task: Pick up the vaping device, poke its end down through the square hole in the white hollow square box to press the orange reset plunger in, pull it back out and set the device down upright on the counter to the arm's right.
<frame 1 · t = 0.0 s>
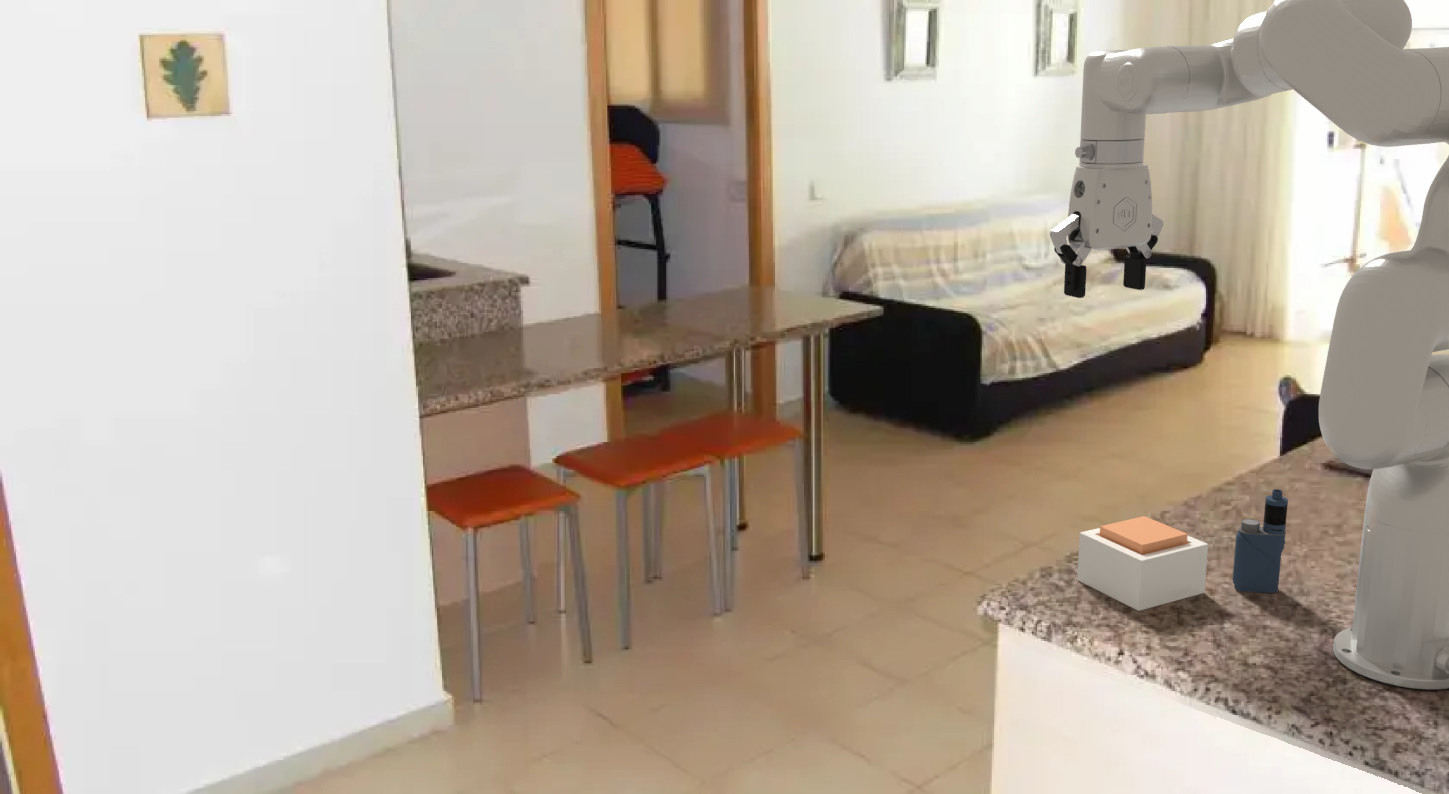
hand: (1104, 292, 159), 31 cm above the kitchen counter, tool pointing down, fingers open, 9 cm apart
reset plunger: (1142, 542, 146), point 6 cm above the kitchen counter, slide at 0.0 cm
vaping device: (1255, 590, 146), on the kitchen counter
white hollow square box: (1139, 586, 147), on the kitchen counter
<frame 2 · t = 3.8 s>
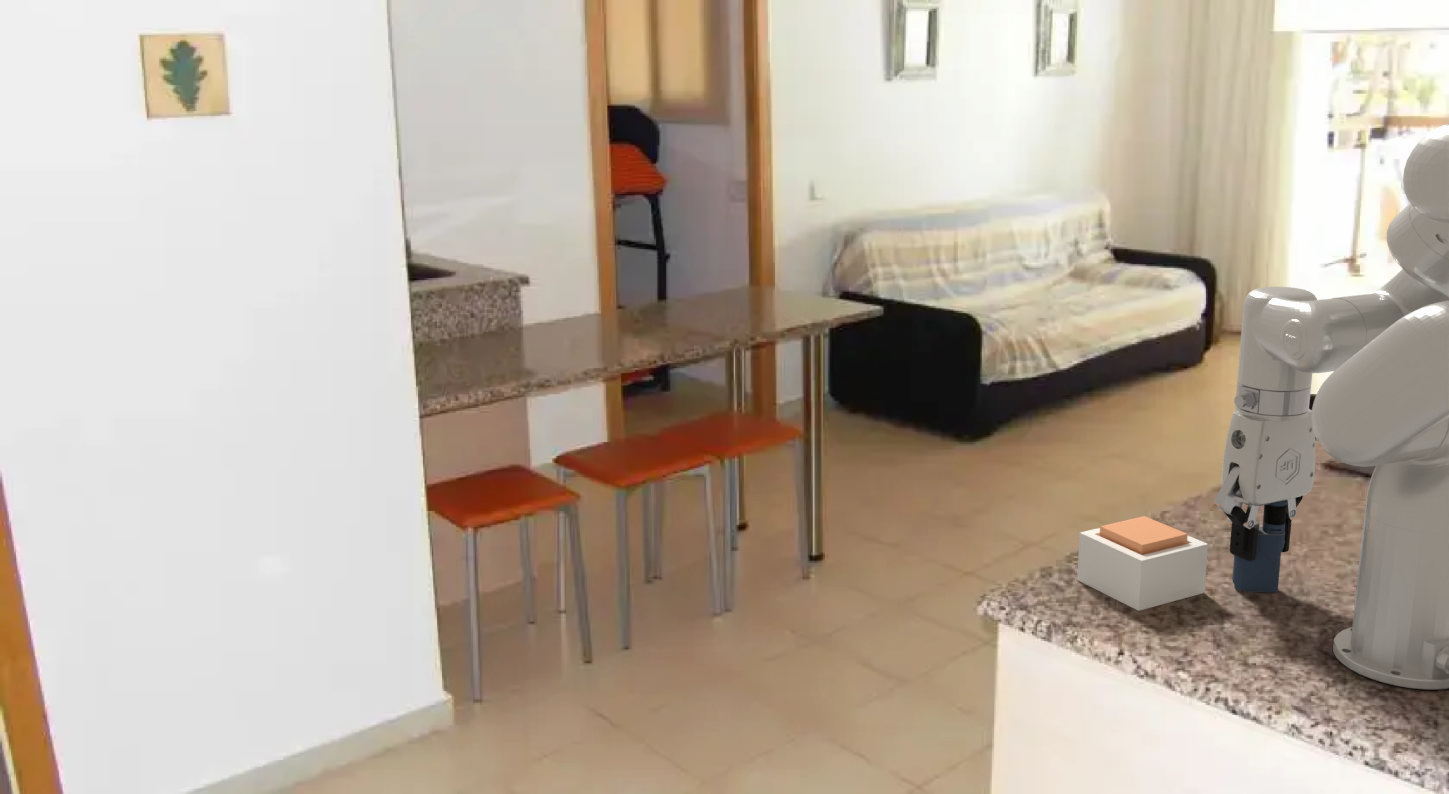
hand: (1259, 551, 145), 5 cm above the kitchen counter, tool pointing down, fingers closed on vaping device, 4 cm apart
vaping device: (1255, 589, 146), on the kitchen counter, touching gripper
everything else where it was.
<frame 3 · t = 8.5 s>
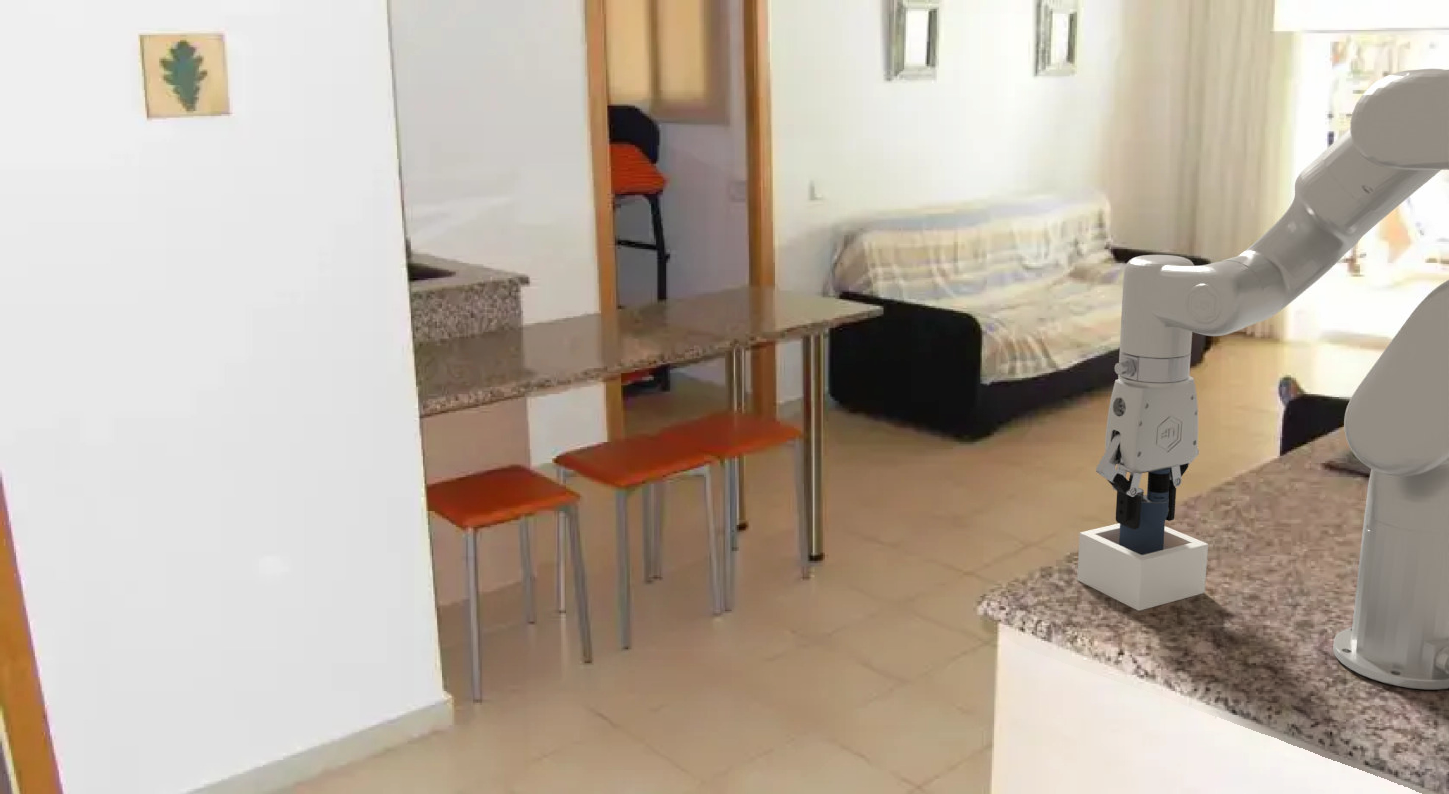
hand: (1144, 519, 145), 8 cm above the kitchen counter, tool pointing down, fingers closed on vaping device, 4 cm apart
reset plunger: (1140, 568, 147), point 2 cm above the kitchen counter, slide at 3.3 cm
vaping device: (1142, 558, 146), point 4 cm above the kitchen counter, touching gripper
when the fingers open (5 cm above the kitchen counter, at t = 15.5 s): vaping device stays where it is, on the kitchen counter.
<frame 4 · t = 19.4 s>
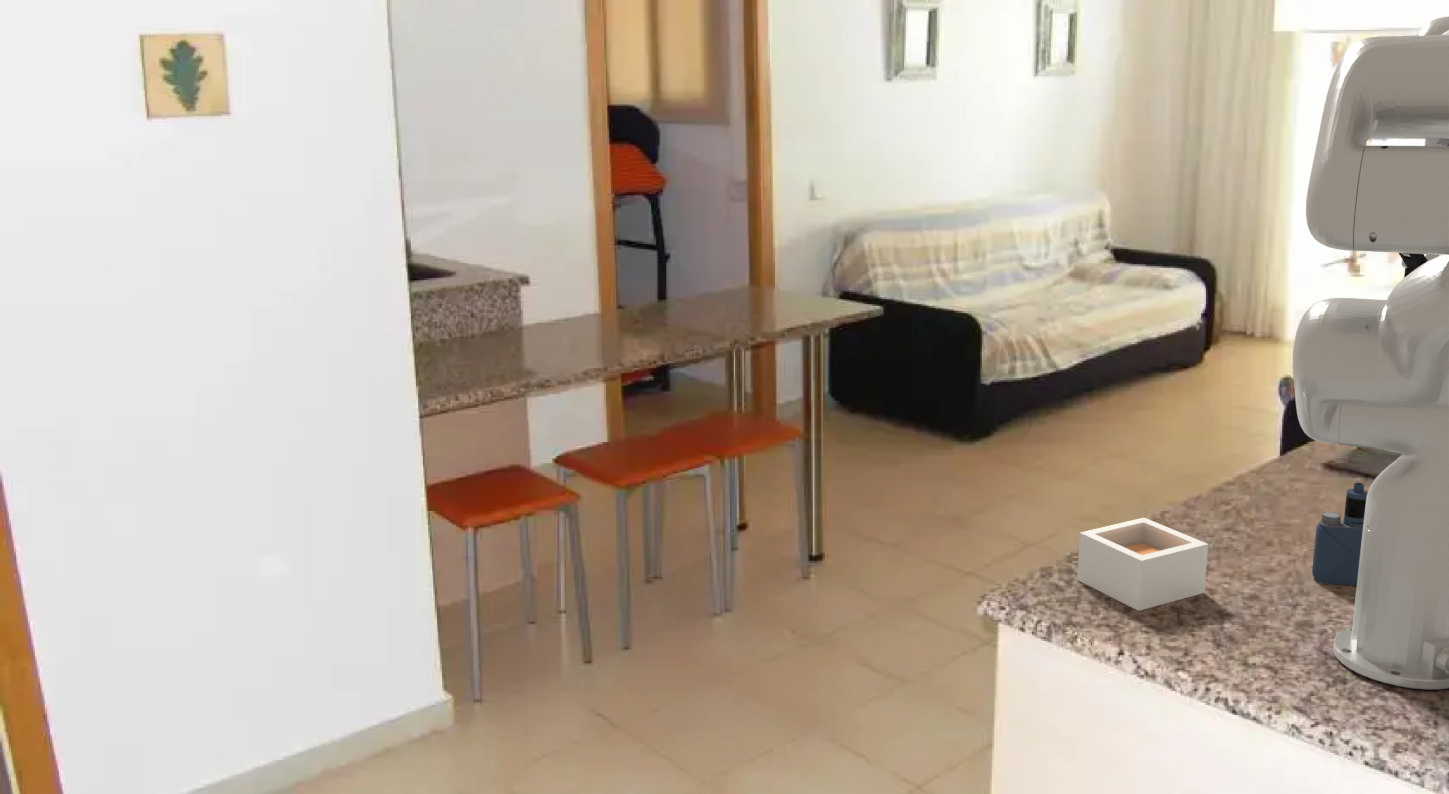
hand: (1446, 300, 137), 33 cm above the kitchen counter, tool pointing down, fingers open, 9 cm apart
vaping device: (1335, 582, 147), on the kitchen counter
everything else where it was.
at the end: reset plunger slide at 3.4 cm; vaping device inside the target area (0.4 cm from its centre), on the kitchen counter; vaping device tilted 0° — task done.
